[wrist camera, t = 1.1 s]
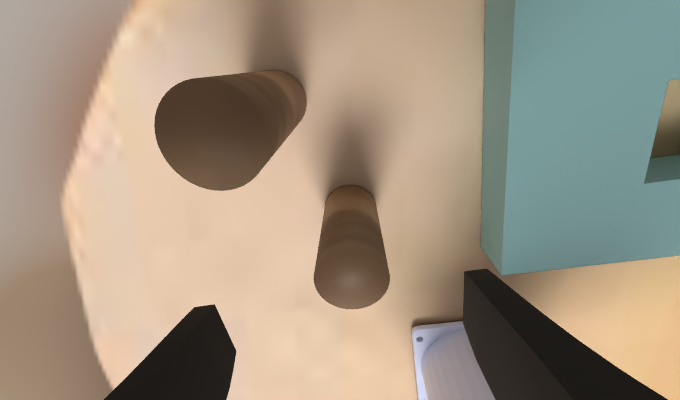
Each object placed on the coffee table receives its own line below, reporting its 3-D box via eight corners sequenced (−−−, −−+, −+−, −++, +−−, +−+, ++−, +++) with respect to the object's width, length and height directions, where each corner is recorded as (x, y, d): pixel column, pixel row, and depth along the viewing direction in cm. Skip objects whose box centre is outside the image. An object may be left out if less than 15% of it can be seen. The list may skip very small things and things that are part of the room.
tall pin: (311, 126, 18) (279, 182, 9) (256, 135, 18) (179, 197, 10) (299, 65, 16) (250, 68, 8) (240, 75, 17) (135, 88, 8)
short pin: (378, 227, 20) (393, 305, 14) (329, 234, 20) (321, 312, 14) (372, 181, 19) (385, 242, 12) (320, 188, 19) (307, 252, 13)
